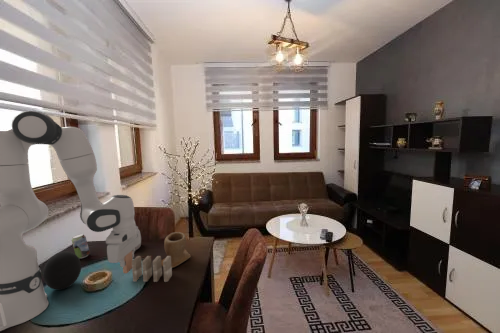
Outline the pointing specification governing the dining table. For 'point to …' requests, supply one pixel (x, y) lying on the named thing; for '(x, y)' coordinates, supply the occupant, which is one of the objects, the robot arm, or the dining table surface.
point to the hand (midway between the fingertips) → (127, 262)
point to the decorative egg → (62, 270)
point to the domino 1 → (128, 262)
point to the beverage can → (80, 246)
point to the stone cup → (176, 248)
